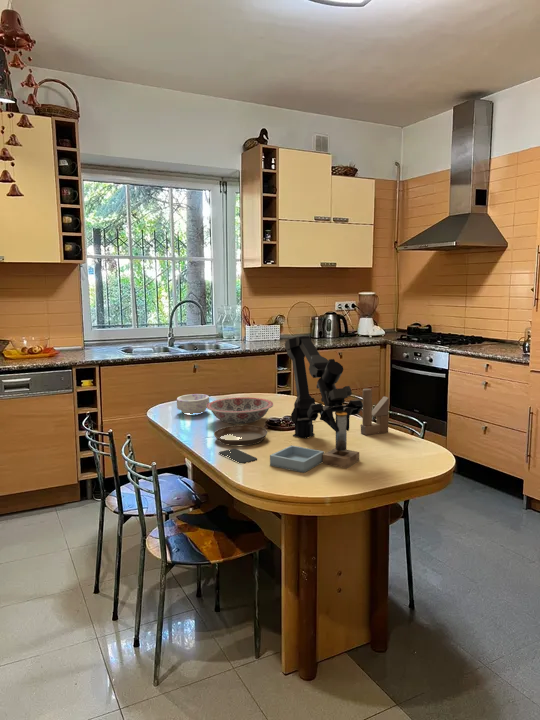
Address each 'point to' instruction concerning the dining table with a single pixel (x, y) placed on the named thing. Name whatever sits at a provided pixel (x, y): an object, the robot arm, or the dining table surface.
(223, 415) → the ceramic bowl
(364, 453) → the dining table surface
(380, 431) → the wooden bracket stand
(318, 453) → the tray
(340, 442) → the pin
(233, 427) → the plant saucer
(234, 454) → the phone
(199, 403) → the white purple bowl
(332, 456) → the brown square socket base
